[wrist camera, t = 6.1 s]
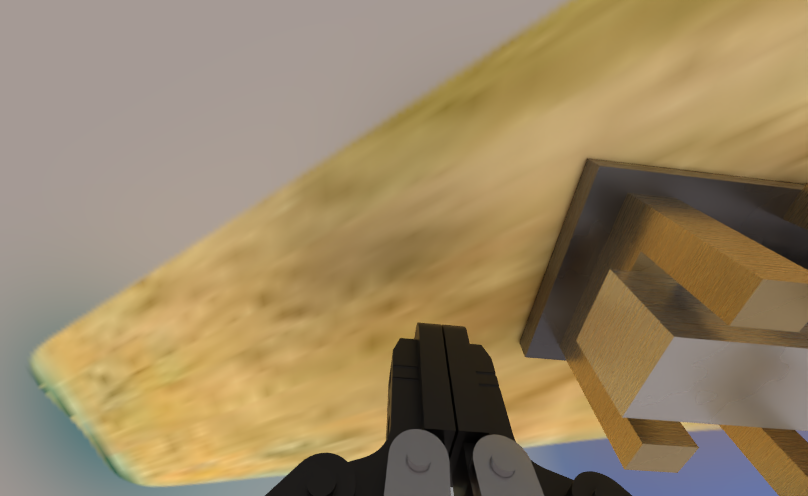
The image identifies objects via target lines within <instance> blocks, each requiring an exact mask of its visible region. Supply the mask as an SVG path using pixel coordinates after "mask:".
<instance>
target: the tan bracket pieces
mask: <svg viewBox="0 0 808 496" xmlns="http://www.w3.org/2000/svg"><path fill="white" fill-rule="evenodd" d="M610 269H617V270H627V271H637V272H646V273H656V274H666V275H670V276H671V277H672V278H673V279H674V280H676V281H677V282H678V283H679V284H680V285H682V286H683V287H684V288H685V289H686V290H687V291H689V292H690V293H691V294H692V295H693V296H695V297H696V298H697V299H698V300H699V301H700V302H702V303H703V304H704V305H705V306H706V307H707V308H709V309H710V310H711V311H712V312H713V313H715V314H716V315H717V316H718V317H719V318H720V319H722V320H723V321H724V322H725V323H726V324H728V325H729V326H736V327H747V328H758V329H769V330H780V331H791V332H799V331H800V330H801V329H802V328H803V327H804V325H805V324H806V323H807V322H808V270H807V269H805V268H803V267H801V266H799V265H797V264H796V263H794V262H792V261H790V260H788V259H786V258H785V257H783V256H781V255H779V254H777V253H775V252H774V251H772V250H770V249H768V248H766V247H764V246H763V245H761V244H759V243H757V242H755V241H754V240H752V239H750V238H748V237H746V236H744V235H743V234H741V233H739V232H737V231H735V230H733V229H732V228H730V227H728V226H726V225H724V224H722V223H721V222H719V221H717V220H715V219H713V218H712V217H710V216H708V215H706V214H704V213H702V212H701V211H699V210H697V209H695V208H693V207H691V206H690V205H688V204H686V203H684V202H682V201H680V200H679V199H677V198H670V197H662V196H653V195H644V194H635V193H627V196H626V198H625V200H624V202H623V205H622V207H621V209H620V211H619V214H618V216H617V218H616V220H615V223H614V225H613V227H612V229H611V232H610V234H609V236H608V238H607V241H606V243H605V245H604V247H603V250H602V252H601V254H600V256H599V259H598V261H597V263H596V265H595V268H594V270H593V272H592V274H591V277H590V279H589V281H588V283H587V286H586V288H585V290H584V292H583V295H582V297H581V299H580V301H579V303H578V306H577V308H576V310H575V312H574V315H573V317H572V319H571V321H570V324H569V326H568V328H567V330H566V333H565V335H564V337H563V339H562V342H561V344H560V346H559V347H560V349H561V351H562V353H563V354H564V356H565V358H566V360H567V362H568V364H569V366H570V368H571V370H572V371H573V373H574V375H575V377H576V379H577V381H578V383H579V385H580V387H581V388H582V390H583V392H584V394H585V396H586V398H587V400H588V402H589V404H590V405H591V407H592V409H593V411H594V413H595V415H596V417H597V419H598V421H599V422H600V424H601V426H602V428H603V430H604V432H605V434H606V436H607V438H608V439H609V441H610V443H611V445H612V447H613V449H614V451H615V453H616V454H617V456H618V458H619V460H620V462H621V464H622V466H623V468H624V469H627V470H642V471H659V472H675V473H678V471H679V470H680V469H681V468H682V467H683V466H684V464H685V463H686V462H687V461H688V460H689V459H690V458H691V456H692V455H693V454H694V453H695V452H696V450H697V449H698V448H699V447H698V446H697V444H696V443H695V442H694V441H693V439H692V438H691V436H690V435H689V434H688V432H687V431H686V430H685V428H684V427H683V426H682V424H681V423H680V422H678V421H664V420H650V419H636V418H623V417H621V415H620V413H619V411H618V410H617V408H616V406H615V405H614V403H613V401H612V400H611V398H610V396H609V395H608V393H607V391H606V390H605V388H604V386H603V385H602V383H601V381H600V380H599V378H598V376H597V375H596V373H595V371H594V370H593V368H592V366H591V365H590V363H589V361H588V360H587V358H586V356H585V355H584V353H583V351H582V350H581V348H580V346H579V345H578V343H577V341H576V340H577V337H578V335H579V333H580V331H581V329H582V327H583V325H584V323H585V321H586V318H587V316H588V314H589V312H590V310H591V308H592V306H593V304H594V301H595V299H596V297H597V295H598V293H599V291H600V289H601V287H602V285H603V282H604V280H605V278H606V276H607V274H608V272H609V270H610Z"/></svg>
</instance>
